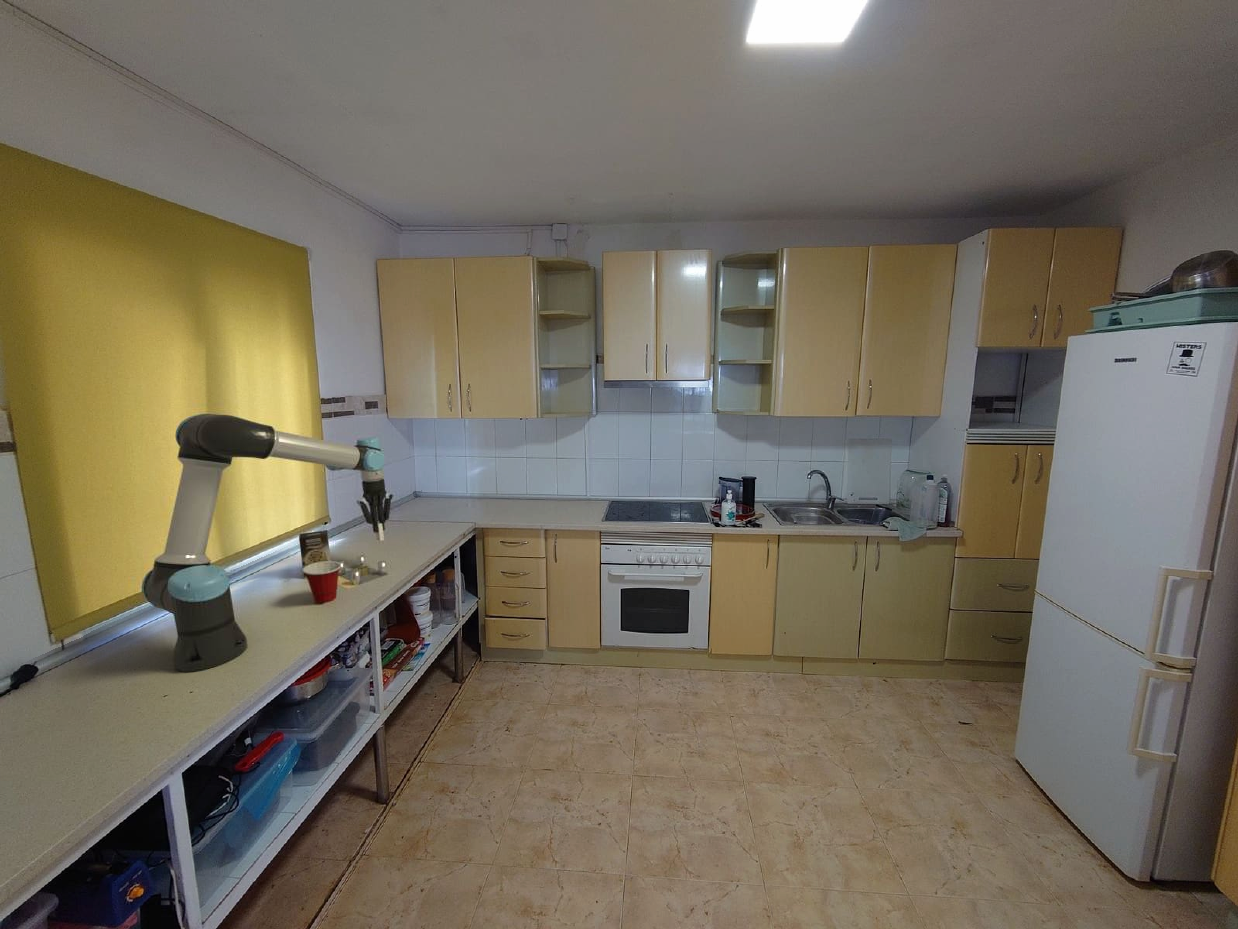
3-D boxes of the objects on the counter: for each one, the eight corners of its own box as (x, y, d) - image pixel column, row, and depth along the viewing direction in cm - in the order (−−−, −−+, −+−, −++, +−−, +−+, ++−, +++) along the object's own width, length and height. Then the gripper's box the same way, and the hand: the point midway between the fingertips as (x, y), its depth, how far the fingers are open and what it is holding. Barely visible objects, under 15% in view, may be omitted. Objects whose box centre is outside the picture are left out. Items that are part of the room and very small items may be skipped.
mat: (347, 590, 169) (347, 588, 169) (324, 579, 179) (323, 578, 179) (388, 575, 181) (388, 574, 181) (364, 566, 191) (364, 565, 191)
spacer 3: (360, 570, 186) (359, 558, 185) (356, 569, 188) (355, 556, 187) (367, 568, 189) (366, 556, 188) (363, 567, 190) (362, 554, 189)
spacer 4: (381, 577, 180) (380, 564, 179) (377, 575, 181) (376, 562, 180) (388, 574, 182) (387, 561, 181) (384, 573, 184) (383, 560, 183)
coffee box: (303, 580, 178) (297, 538, 176) (304, 574, 184) (298, 533, 181) (332, 575, 183) (327, 533, 180) (332, 569, 188) (327, 529, 186)
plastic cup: (335, 607, 157) (331, 571, 154) (300, 609, 156) (295, 573, 154) (351, 592, 167) (347, 559, 165) (318, 594, 166) (313, 560, 164)
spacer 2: (355, 587, 171) (353, 573, 171) (350, 585, 173) (349, 572, 172) (362, 584, 174) (361, 571, 173) (358, 582, 175) (357, 569, 174)
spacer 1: (339, 577, 181) (337, 564, 180) (335, 575, 182) (334, 562, 181) (347, 574, 183) (345, 562, 182) (343, 573, 184) (341, 560, 184)
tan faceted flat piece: (359, 577, 179) (358, 571, 178) (353, 575, 181) (352, 568, 181) (373, 573, 183) (372, 566, 182) (366, 570, 185) (366, 564, 185)
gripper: (360, 483, 175) (368, 546, 179) (395, 477, 185) (401, 536, 190) (350, 481, 179) (358, 543, 183) (384, 475, 190) (390, 533, 194)
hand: (380, 539), depth 186 cm, fingers closed
